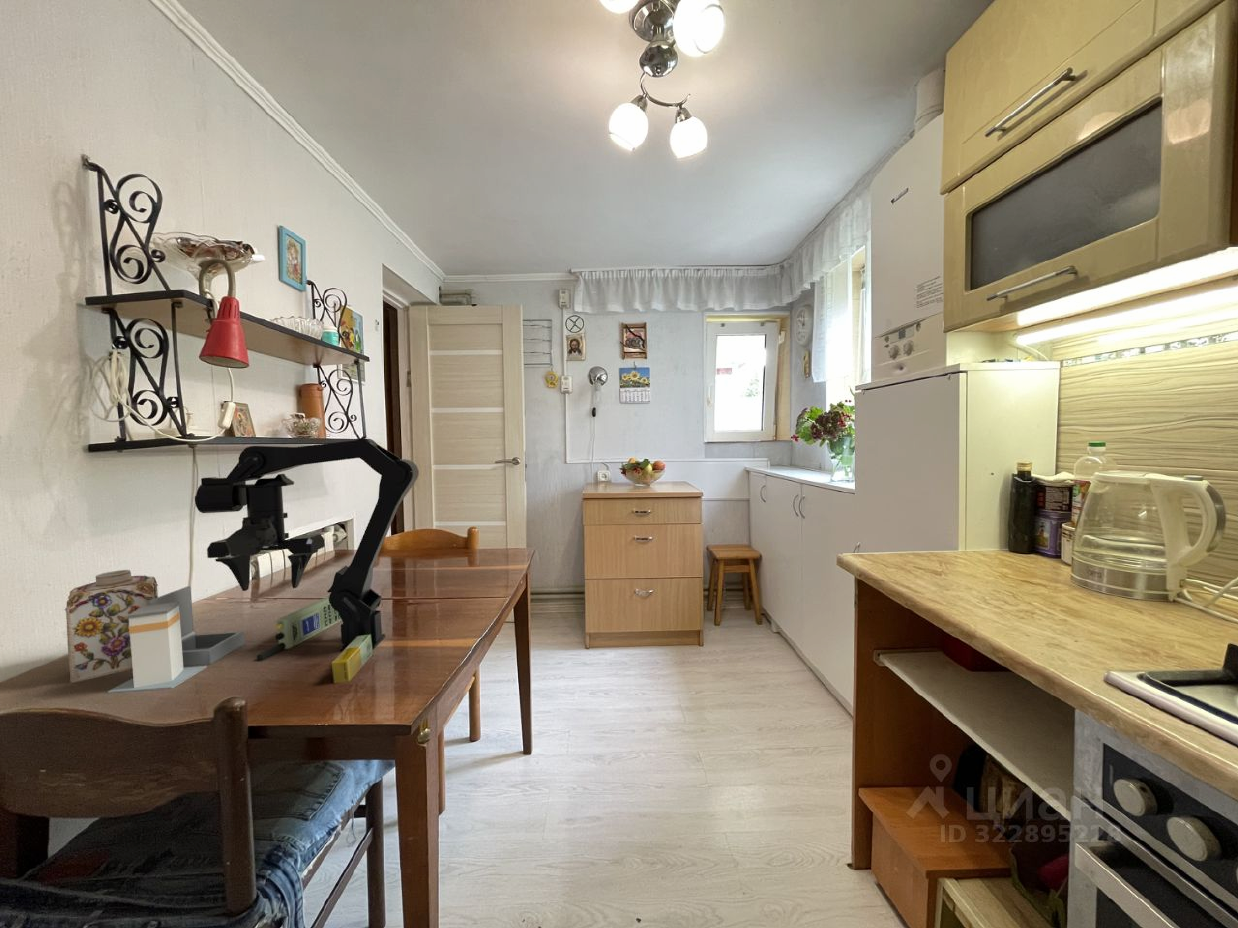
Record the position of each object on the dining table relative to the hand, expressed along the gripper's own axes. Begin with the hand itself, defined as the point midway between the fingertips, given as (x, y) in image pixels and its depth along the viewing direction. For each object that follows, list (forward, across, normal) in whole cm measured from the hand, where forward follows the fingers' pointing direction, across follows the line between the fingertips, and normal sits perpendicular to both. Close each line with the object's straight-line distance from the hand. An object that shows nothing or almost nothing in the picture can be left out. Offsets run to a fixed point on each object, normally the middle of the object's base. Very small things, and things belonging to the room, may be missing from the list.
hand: (270, 588), depth 96 cm
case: (+13, -14, +1) cm, 19 cm away
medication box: (+13, +19, -9) cm, 25 cm away
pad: (+13, -14, -9) cm, 21 cm away
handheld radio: (+14, +2, +8) cm, 16 cm away
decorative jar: (+13, -28, 0) cm, 31 cm away
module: (+12, -14, -9) cm, 21 cm away
